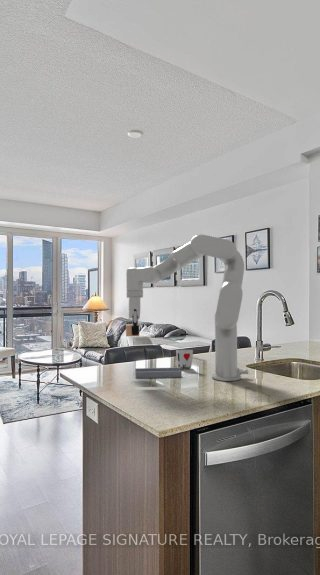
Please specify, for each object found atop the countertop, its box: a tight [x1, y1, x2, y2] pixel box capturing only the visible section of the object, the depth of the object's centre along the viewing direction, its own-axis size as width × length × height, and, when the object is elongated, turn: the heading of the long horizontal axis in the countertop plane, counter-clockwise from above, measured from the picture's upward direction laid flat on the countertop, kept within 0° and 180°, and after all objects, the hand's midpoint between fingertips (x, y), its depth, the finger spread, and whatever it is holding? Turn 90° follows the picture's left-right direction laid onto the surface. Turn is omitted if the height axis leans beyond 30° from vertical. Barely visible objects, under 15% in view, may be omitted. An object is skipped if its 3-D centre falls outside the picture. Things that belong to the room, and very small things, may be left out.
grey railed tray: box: [134, 366, 182, 379], centre depth 168 cm, size 20×9×4 cm, turn 94°
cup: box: [175, 349, 194, 371], centre depth 183 cm, size 8×8×10 cm
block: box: [125, 323, 140, 337], centre depth 172 cm, size 5×5×6 cm
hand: (135, 333), depth 172 cm, fingers closed on block, 5 cm apart
